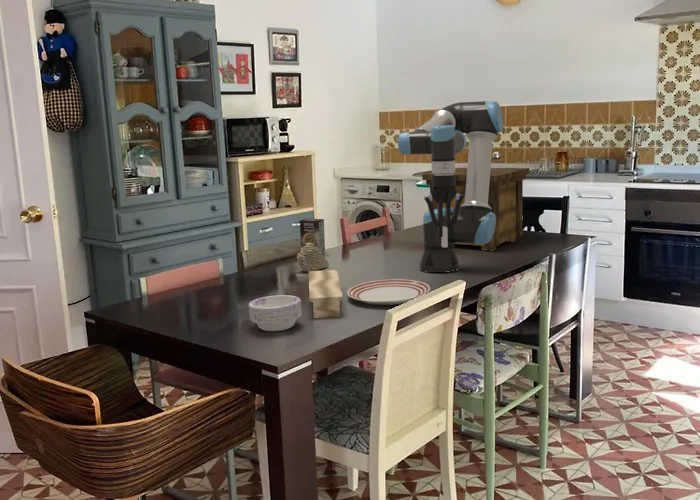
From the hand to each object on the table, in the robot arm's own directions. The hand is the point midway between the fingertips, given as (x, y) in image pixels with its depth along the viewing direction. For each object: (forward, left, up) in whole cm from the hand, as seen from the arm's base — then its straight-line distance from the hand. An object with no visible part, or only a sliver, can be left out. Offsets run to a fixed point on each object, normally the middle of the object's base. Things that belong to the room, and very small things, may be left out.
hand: (444, 246), depth 227 cm
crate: (-31, -83, -16) cm, 90 cm away
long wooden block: (+40, 0, -16) cm, 43 cm away
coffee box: (+43, -76, -16) cm, 89 cm away
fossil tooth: (+43, -48, -16) cm, 67 cm away
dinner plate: (+19, 0, -17) cm, 25 cm away
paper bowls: (+55, +25, -16) cm, 62 cm away
